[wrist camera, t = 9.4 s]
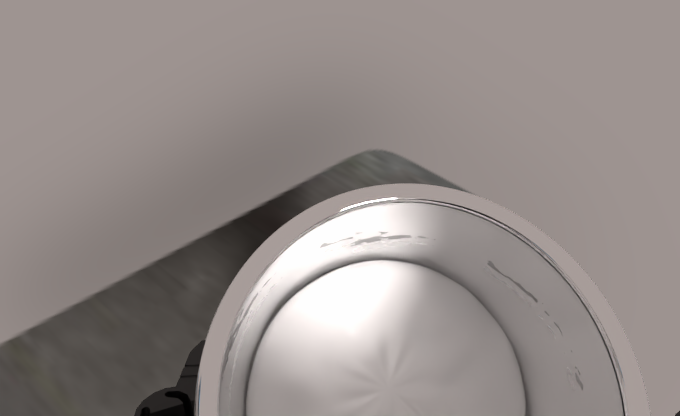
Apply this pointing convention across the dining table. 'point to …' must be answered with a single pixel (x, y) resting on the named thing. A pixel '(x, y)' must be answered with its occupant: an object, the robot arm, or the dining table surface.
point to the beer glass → (415, 318)
